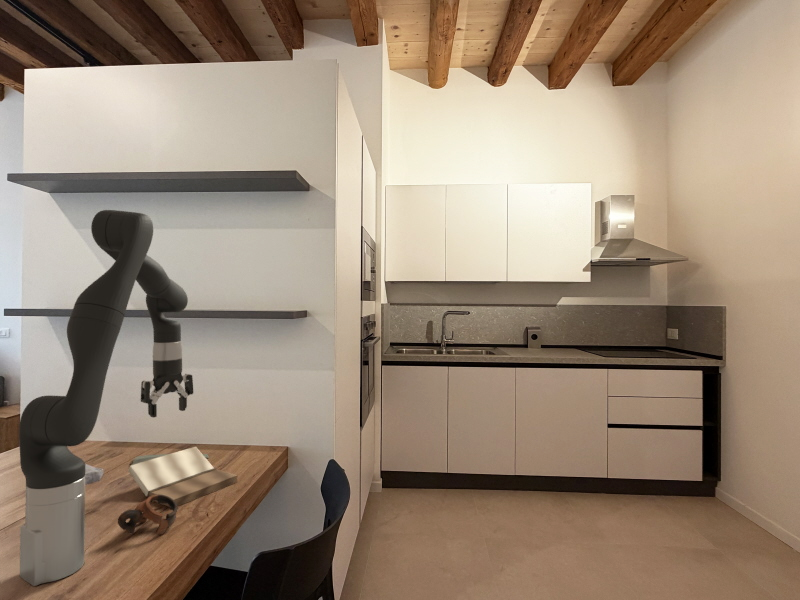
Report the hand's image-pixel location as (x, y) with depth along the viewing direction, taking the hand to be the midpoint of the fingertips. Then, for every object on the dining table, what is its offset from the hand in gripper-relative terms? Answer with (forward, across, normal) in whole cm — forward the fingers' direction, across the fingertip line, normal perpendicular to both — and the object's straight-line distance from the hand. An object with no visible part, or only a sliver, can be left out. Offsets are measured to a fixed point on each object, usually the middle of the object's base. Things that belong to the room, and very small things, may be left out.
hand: (168, 413), depth 133 cm
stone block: (+20, -14, +22) cm, 33 cm away
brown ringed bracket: (+19, -19, -24) cm, 36 cm away
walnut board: (+19, 0, -12) cm, 23 cm away
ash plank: (+17, 0, -2) cm, 17 cm away
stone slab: (+21, +11, +17) cm, 29 cm away
